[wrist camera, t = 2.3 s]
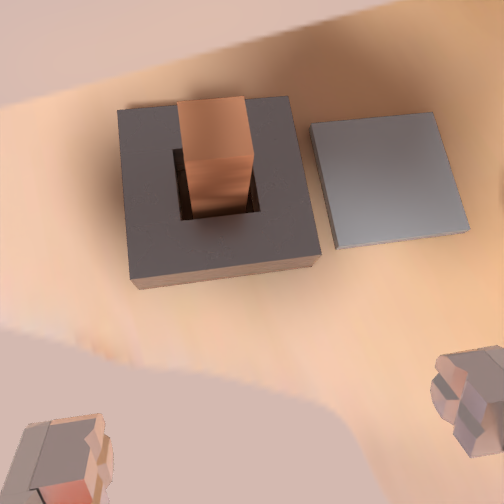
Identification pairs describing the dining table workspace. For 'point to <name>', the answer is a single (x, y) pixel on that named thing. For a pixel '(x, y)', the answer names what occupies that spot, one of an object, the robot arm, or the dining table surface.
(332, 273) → the dining table surface
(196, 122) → the peg
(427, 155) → the mat
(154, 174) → the collar block
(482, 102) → the dining table surface
